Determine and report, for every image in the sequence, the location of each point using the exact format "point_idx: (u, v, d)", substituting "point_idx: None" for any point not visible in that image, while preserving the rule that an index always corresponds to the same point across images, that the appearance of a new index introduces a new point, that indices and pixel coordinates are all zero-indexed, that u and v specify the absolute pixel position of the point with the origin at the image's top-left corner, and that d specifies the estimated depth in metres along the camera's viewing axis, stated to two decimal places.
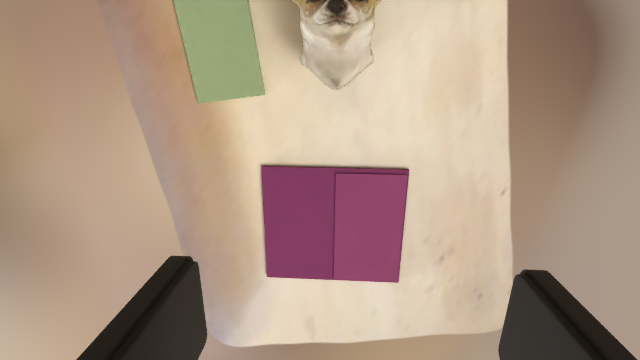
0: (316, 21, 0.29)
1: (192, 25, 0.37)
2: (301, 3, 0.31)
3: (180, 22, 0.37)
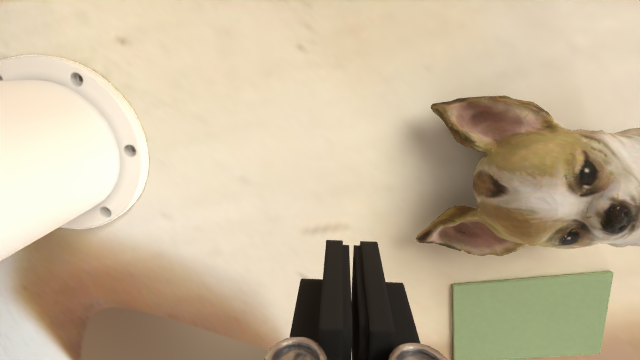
0: (614, 242, 0.17)
1: (499, 347, 0.28)
2: (544, 245, 0.20)
3: (493, 358, 0.29)
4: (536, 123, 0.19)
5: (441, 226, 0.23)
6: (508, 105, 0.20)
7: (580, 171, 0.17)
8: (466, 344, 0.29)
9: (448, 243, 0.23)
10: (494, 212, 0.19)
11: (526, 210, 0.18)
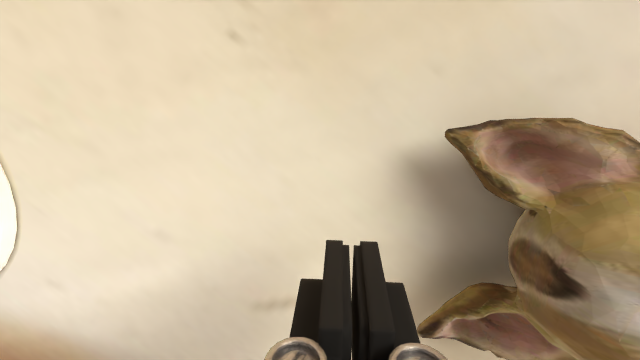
0: None
1: None
2: None
3: None
4: (628, 167, 0.11)
5: (457, 317, 0.14)
6: (579, 135, 0.11)
7: None
8: None
9: (466, 338, 0.15)
10: (555, 322, 0.11)
11: (625, 335, 0.10)
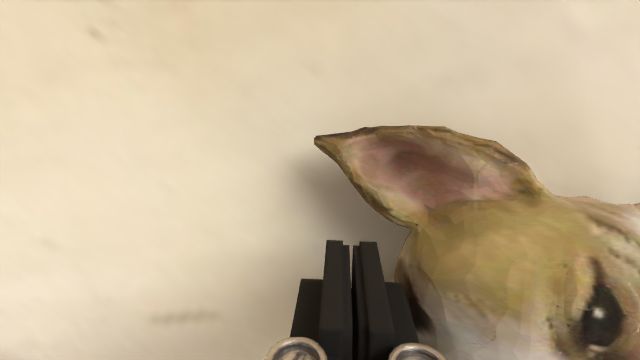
0: None
1: None
2: None
3: None
4: (501, 183, 0.10)
5: None
6: (449, 146, 0.10)
7: (583, 315, 0.07)
8: None
9: None
10: None
11: None
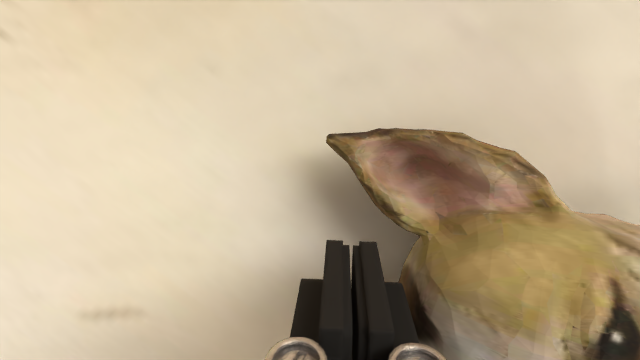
0: None
1: None
2: None
3: None
4: (518, 195, 0.10)
5: None
6: (466, 153, 0.10)
7: (600, 338, 0.07)
8: None
9: None
10: None
11: None
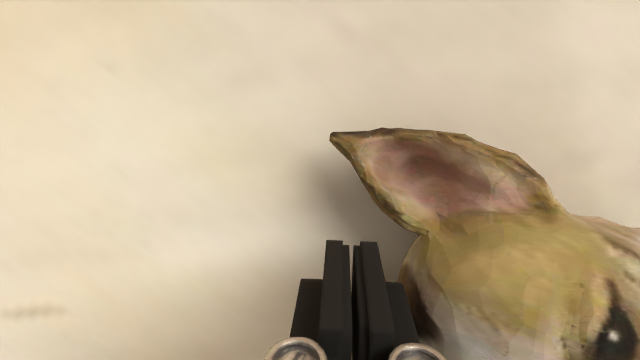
0: None
1: None
2: None
3: None
4: (518, 196, 0.10)
5: None
6: (468, 155, 0.10)
7: (598, 336, 0.07)
8: None
9: None
10: None
11: None
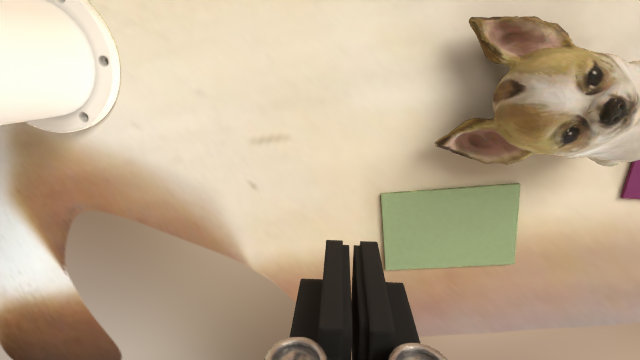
0: (607, 141, 0.21)
1: (424, 255, 0.32)
2: (546, 151, 0.24)
3: (419, 266, 0.33)
4: (557, 42, 0.23)
5: (459, 132, 0.26)
6: (535, 24, 0.23)
7: (588, 72, 0.20)
8: (395, 251, 0.32)
9: (462, 151, 0.27)
10: (510, 111, 0.23)
11: (539, 104, 0.21)
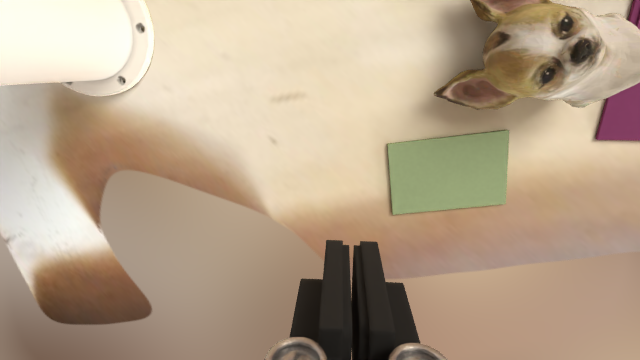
0: (577, 79, 0.25)
1: (426, 199, 0.36)
2: (529, 94, 0.28)
3: (422, 210, 0.37)
4: None
5: (455, 82, 0.30)
6: None
7: (561, 20, 0.24)
8: (400, 196, 0.36)
9: (457, 100, 0.31)
10: (498, 57, 0.27)
11: (521, 49, 0.25)
